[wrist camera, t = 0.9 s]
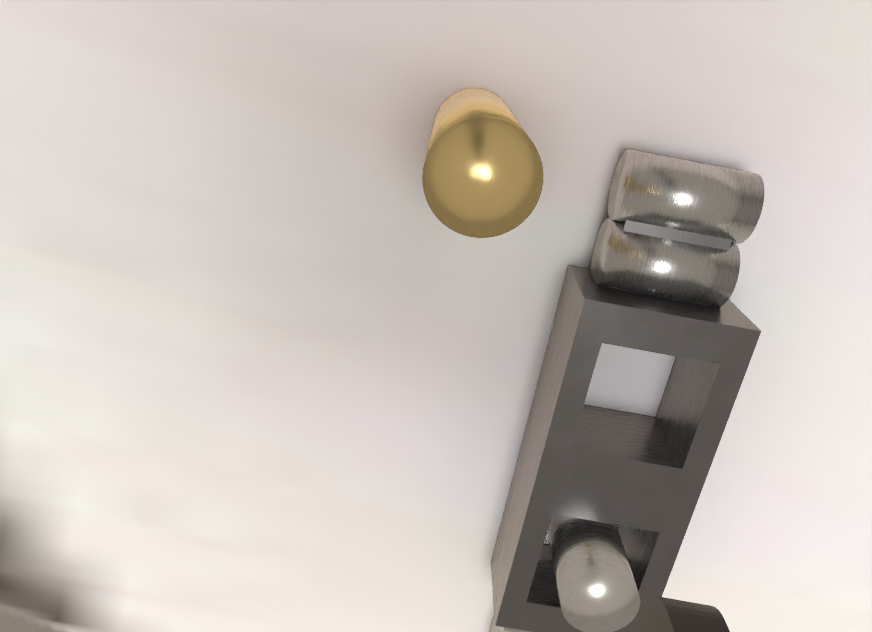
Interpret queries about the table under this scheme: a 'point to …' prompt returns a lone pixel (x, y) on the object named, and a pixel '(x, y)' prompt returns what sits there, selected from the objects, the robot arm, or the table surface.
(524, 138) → the brass pin
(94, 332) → the table surface
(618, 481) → the dark grey slotted block
